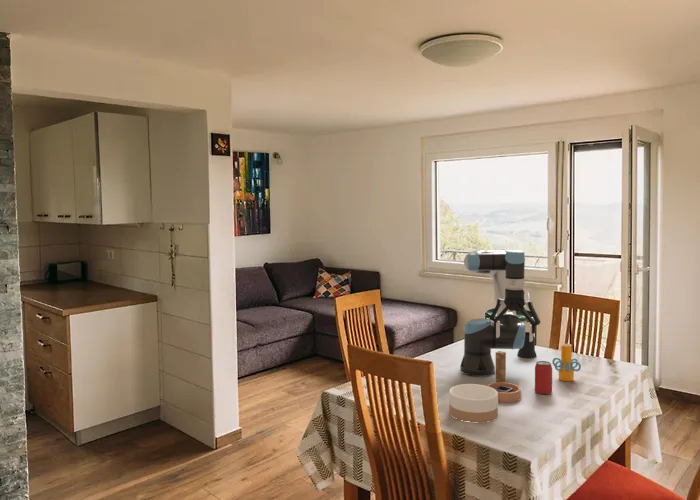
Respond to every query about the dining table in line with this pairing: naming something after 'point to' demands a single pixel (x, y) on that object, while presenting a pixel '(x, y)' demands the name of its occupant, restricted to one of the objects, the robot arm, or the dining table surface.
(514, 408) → the dining table surface
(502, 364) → the tall wooden post
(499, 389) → the clip
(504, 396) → the shallow terracotta dish
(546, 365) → the beer can
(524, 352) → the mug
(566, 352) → the cylinder
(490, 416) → the bowl
